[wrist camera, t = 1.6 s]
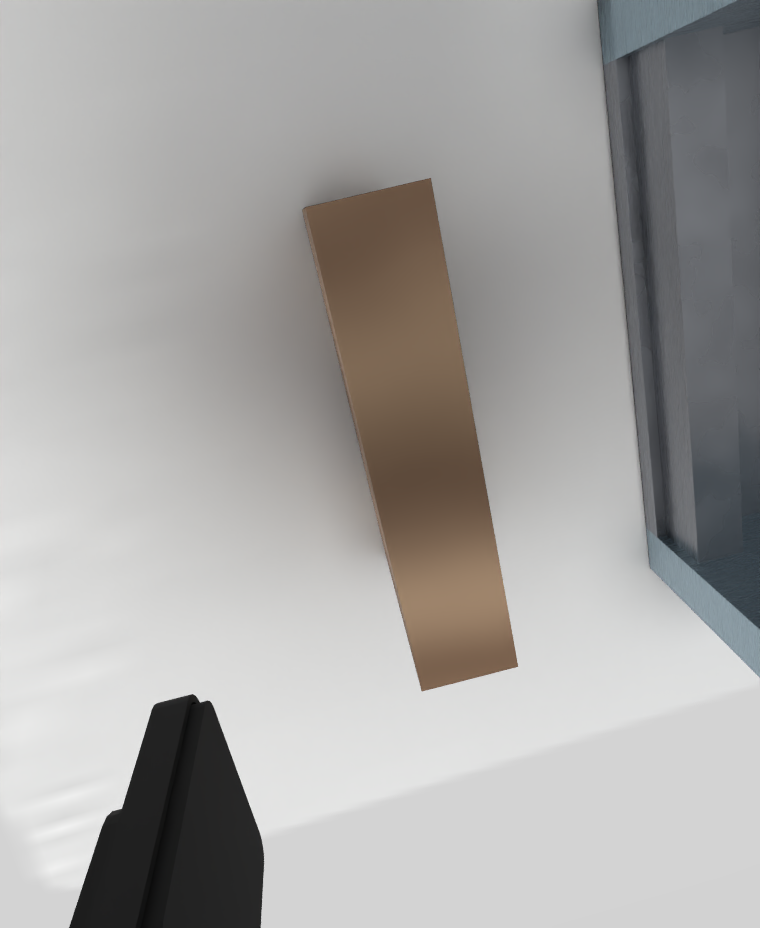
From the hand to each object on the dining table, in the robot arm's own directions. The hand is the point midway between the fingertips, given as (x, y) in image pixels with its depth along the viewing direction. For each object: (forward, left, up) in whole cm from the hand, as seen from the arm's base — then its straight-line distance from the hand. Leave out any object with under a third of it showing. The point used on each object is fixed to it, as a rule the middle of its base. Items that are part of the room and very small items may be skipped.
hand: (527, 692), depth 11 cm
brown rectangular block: (0, 0, -18) cm, 18 cm away
